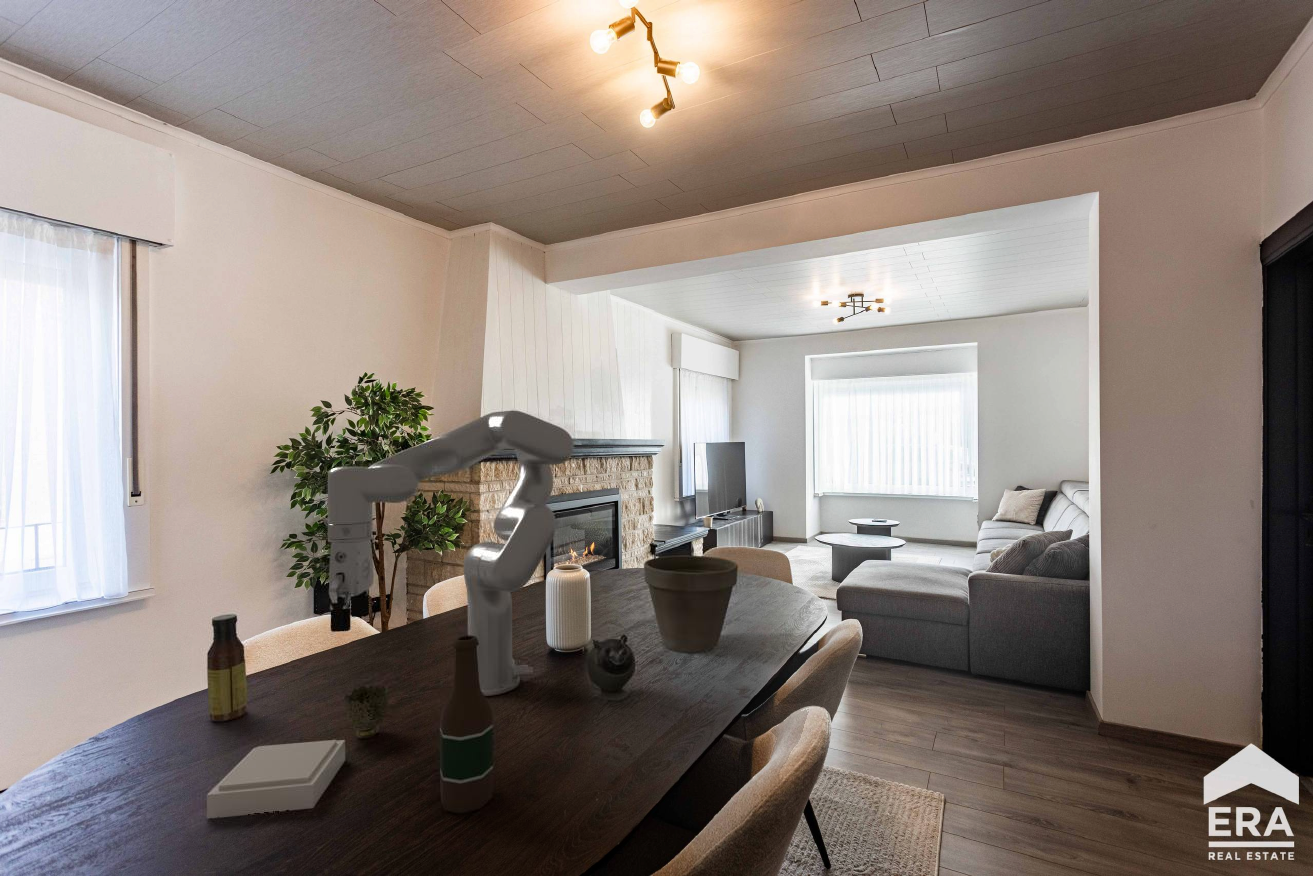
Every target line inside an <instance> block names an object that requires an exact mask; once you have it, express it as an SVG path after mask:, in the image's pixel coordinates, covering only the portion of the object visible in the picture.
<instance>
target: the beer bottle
mask: <svg viewBox="0 0 1313 876" xmlns="http://www.w3.org/2000/svg"><path fill="white" fill-rule="evenodd" d="M478 645H479V643H478V639H477V638H476V636H470V635H468V634H467V635H462V636H458V637H457V638H454V640H453V644H452V647H453V648H454V661H453V663H454V665H453V679H452V680H453V681H452V688H451V693H450V694H449V696H448V697H447V699H446V700H445V702H444V704H443V707H442V709H441V712H440V718H439V719H440V720H439V721H440V722H439V782H440V783H439V786H440V788H439V790H440V801H441V803H442V806H443V809H444V811H446V812H450V813H453V814H454V813H455V814H461V815H462V814H466V813H469V812H473V811H477V810H480V809H482V808H483V807H484V806H486V804H487V803H488V802H490V801H491V799H492V798H493V796H494V721H493V720H494V718H493V711H492V708H491V706H490V703H489V700H488V699H487V696H484V694H483V693H482V691H481V688H480V683H479V672H478V657H477V646H478Z"/></svg>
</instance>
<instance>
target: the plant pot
mask: <svg viewBox="0 0 1313 876" xmlns="http://www.w3.org/2000/svg"><path fill="white" fill-rule="evenodd" d="M738 569H739V565H738V564H737V563H736V562H735V561H734V560H733V561H732V560H729V559H727V558H726V559H725V558H723V557H722V558H721V557H715V556H713V557H712V556H704V555H703V556H702V555H669V556H660V557H653V558H651V559H647V560H646V561H645V562H644V563H643V570H644V572H643V573H644V582H645V583H646V584H647V585H648V589H649V593H650V598H651V603H652V606H653V610H654V615H655V619H656V622H657V626H658V630H659V634H660V638H661V641H662V644H663V646H664V647H665V648H667V649H669V650H672V651H675V652H679V651H680V653H689V652H696V653H703V652H702V651H704V652H707V651H706V650H709V651H711V650H710V649H712V648H714V647H715V648H716V647H717V646H718V644H719V642H720V637H721V635H722V631H723V627H724V623H725V619H726V615H727V612H728V608H729V604H730V600H731V597H732V592H733V588H734V587H735V586H736V585H737V583H738ZM715 648H714V649H715ZM712 650H713V649H712Z"/></svg>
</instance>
